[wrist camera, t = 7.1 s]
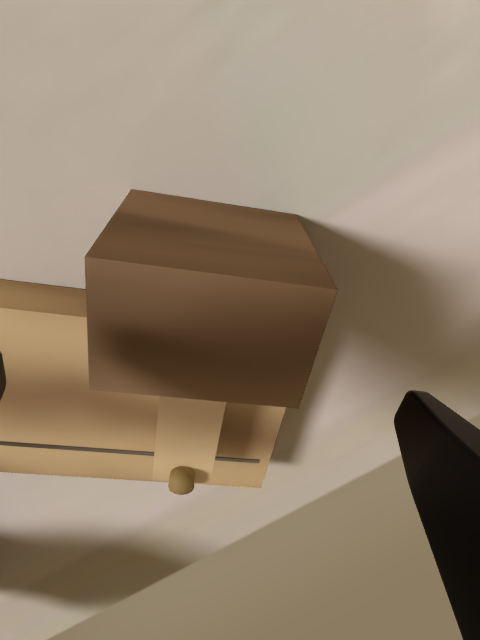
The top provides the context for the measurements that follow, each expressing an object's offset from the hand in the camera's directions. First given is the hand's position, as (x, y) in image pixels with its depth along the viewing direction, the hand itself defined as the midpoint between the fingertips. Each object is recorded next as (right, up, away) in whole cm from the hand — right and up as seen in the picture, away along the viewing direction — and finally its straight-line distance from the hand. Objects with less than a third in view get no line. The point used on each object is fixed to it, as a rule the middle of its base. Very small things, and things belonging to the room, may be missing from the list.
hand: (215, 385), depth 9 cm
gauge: (-1, +1, +8) cm, 9 cm away
